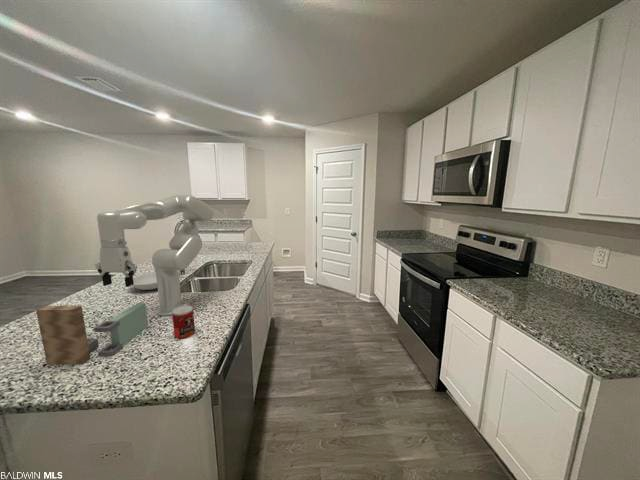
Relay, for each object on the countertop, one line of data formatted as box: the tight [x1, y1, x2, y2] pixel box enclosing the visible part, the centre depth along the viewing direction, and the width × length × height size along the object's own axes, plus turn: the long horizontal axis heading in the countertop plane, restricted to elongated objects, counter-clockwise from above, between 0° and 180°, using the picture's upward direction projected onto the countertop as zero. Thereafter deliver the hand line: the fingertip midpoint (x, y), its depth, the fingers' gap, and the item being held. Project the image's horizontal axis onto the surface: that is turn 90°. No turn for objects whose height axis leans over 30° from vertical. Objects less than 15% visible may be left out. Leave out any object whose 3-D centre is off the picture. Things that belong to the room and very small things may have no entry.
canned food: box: [171, 305, 196, 340], centre depth 103 cm, size 8×8×11 cm
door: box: [93, 302, 149, 357], centre depth 99 cm, size 5×21×11 cm, turn 1°
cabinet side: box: [35, 305, 100, 366], centre depth 88 cm, size 12×10×20 cm
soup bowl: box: [131, 271, 158, 291], centre depth 155 cm, size 24×24×7 cm
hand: (118, 285), depth 100 cm, fingers open, 9 cm apart
